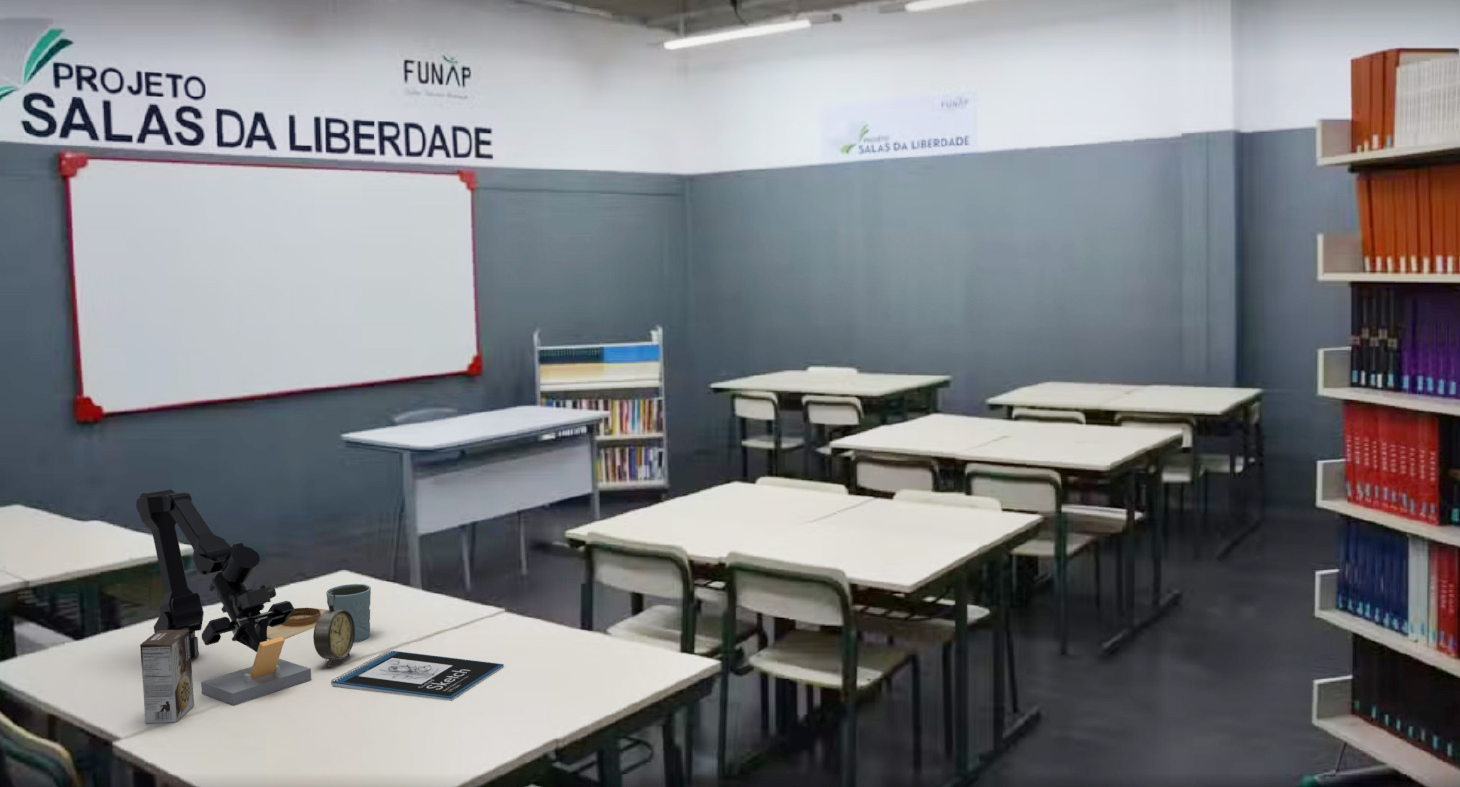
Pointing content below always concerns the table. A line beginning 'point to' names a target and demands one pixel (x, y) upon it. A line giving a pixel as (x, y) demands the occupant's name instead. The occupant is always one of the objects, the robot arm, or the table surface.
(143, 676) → the coffee box
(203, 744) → the table surface
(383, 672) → the sketchbook
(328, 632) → the alarm clock
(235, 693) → the switch panel
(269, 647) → the orange foam slab
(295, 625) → the board
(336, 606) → the blue-grey cylinder
